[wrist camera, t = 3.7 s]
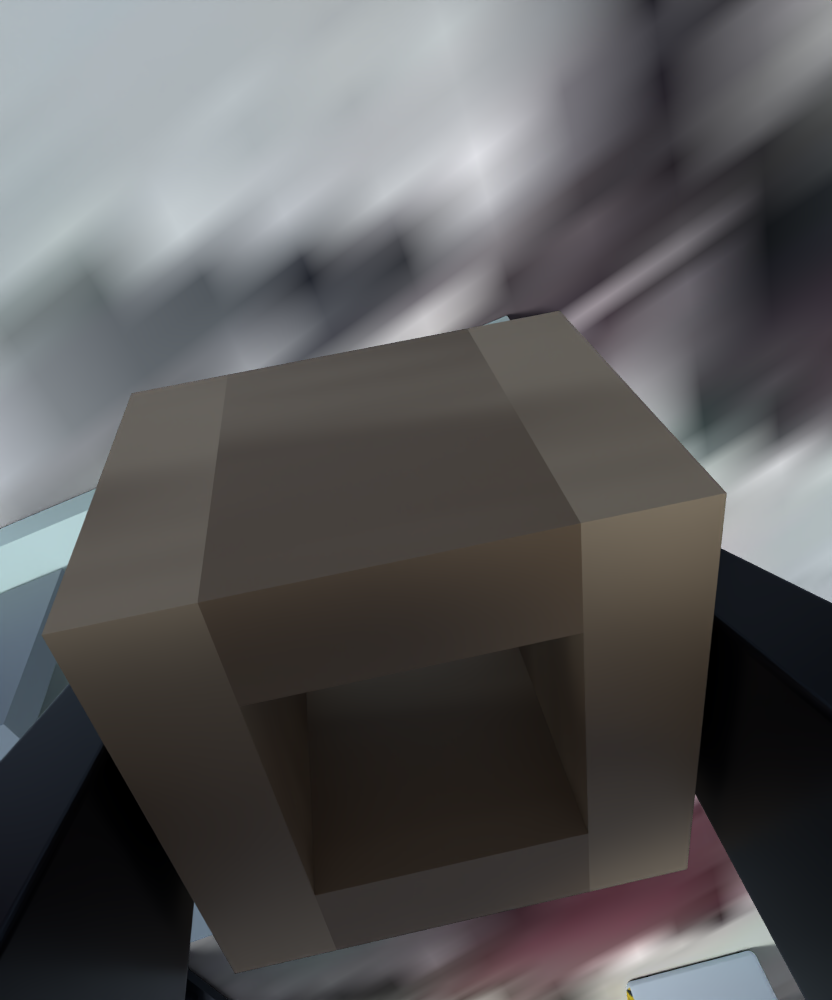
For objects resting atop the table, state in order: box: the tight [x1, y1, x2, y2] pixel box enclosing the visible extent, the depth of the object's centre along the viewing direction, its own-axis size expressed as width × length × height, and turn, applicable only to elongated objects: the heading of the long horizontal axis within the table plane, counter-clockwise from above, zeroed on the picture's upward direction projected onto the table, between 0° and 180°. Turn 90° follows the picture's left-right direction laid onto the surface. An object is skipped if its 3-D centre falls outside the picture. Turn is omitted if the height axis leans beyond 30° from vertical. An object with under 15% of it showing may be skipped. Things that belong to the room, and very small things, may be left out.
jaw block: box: [42, 311, 727, 974], centre depth 9 cm, size 5×5×4 cm
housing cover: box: [0, 569, 213, 943], centre depth 21 cm, size 10×9×5 cm
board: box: [0, 316, 510, 718], centre depth 21 cm, size 12×22×4 cm, turn 111°
